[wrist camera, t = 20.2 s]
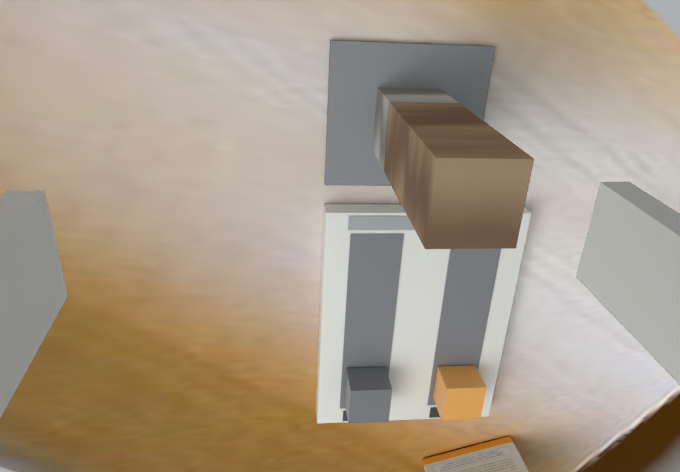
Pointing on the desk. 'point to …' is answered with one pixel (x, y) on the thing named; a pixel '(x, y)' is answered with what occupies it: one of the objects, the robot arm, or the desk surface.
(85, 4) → the desk surface
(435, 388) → the tab
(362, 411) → the tab
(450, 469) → the supplement box
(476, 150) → the wooden beam block
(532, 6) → the desk surface
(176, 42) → the desk surface
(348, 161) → the mat
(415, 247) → the switch board
